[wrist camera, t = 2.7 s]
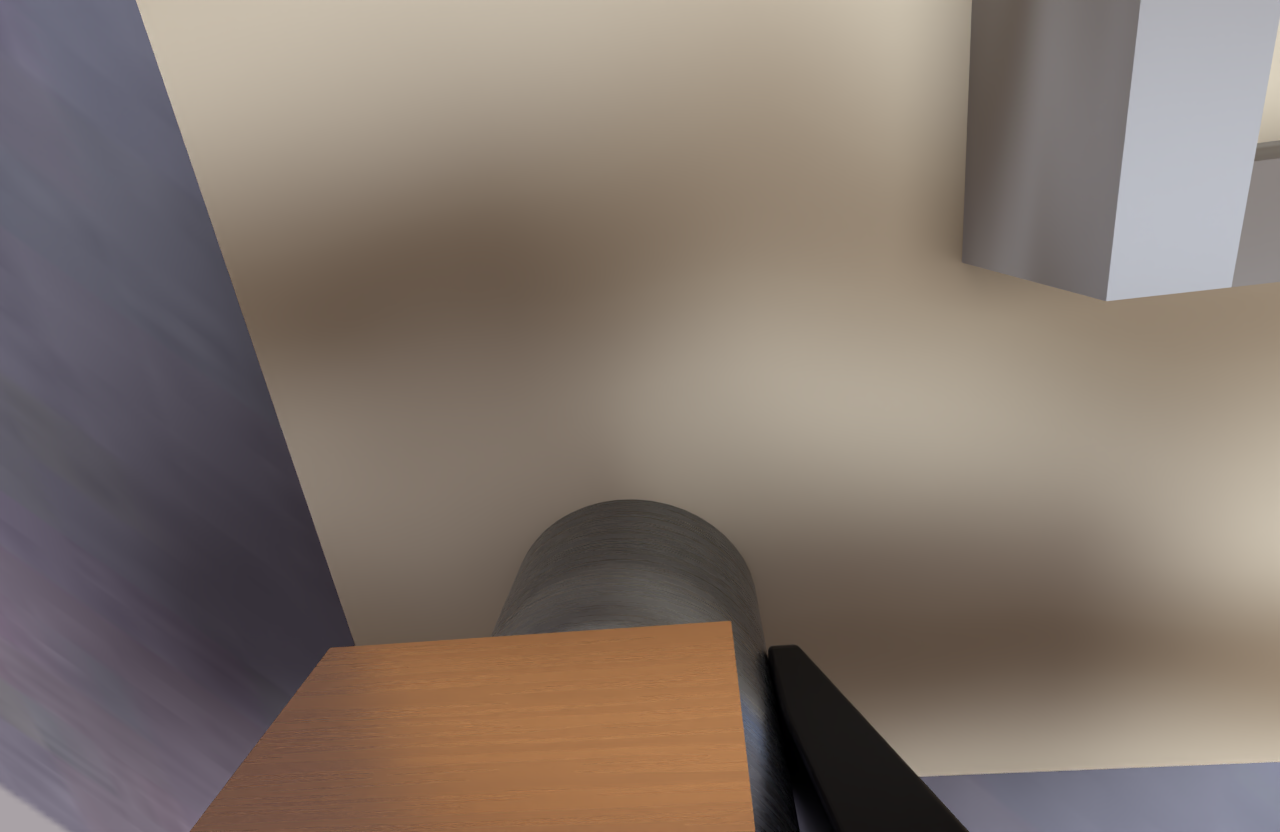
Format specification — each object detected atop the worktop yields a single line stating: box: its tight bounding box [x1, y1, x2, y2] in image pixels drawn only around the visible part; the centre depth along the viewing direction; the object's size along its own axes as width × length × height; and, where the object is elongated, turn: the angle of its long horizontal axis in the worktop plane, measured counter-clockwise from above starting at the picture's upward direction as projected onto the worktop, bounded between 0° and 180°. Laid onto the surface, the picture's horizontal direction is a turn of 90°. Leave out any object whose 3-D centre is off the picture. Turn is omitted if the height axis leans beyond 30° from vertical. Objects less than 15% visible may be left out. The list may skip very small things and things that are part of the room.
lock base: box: [136, 0, 1280, 777], centre depth 7 cm, size 18×18×4 cm
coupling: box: [190, 499, 800, 832], centre depth 7 cm, size 7×4×7 cm, turn 7°
